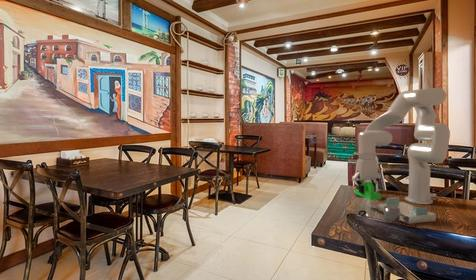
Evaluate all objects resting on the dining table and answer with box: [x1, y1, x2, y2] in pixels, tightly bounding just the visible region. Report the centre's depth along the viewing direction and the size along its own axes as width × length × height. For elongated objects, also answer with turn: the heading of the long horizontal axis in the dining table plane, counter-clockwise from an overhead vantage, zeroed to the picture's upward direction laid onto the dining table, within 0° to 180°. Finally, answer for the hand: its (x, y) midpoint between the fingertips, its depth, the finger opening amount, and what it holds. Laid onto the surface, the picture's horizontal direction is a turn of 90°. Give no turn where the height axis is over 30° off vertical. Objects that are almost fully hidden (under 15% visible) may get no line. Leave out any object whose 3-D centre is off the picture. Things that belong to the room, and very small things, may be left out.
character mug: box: [351, 175, 370, 196], centre depth 157 cm, size 11×7×13 cm, turn 34°
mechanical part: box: [354, 182, 382, 201], centre depth 134 cm, size 12×6×8 cm, turn 13°
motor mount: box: [377, 196, 437, 225], centre depth 124 cm, size 22×18×6 cm
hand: (367, 191), depth 134 cm, fingers closed on mechanical part, 6 cm apart
